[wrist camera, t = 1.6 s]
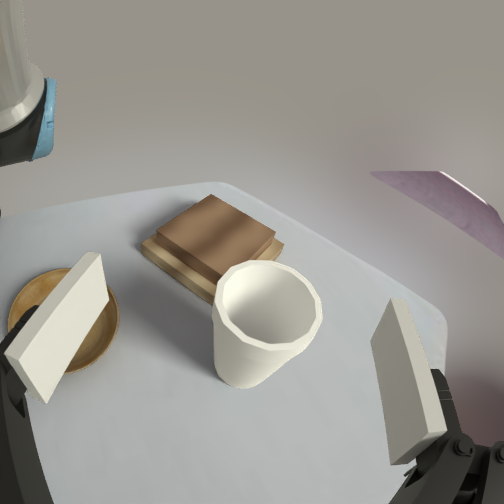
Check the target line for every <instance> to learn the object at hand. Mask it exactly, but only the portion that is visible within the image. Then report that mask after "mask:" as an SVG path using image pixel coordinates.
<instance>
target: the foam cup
mask: <svg viewBox="0 0 504 504" xmlns="http://www.w3.org/2000/svg"><path fill="white" fill-rule="evenodd" d="M211 318H212V320H213V323H214V366H215V368H216V371H217V374H218V376H219V377H220V378H221V379H222V380H223V381H224V382H225V383H226V384H228V385H230V386H233V387H236V388H239V389H241V388H252V387H254V386H255V385H257V384H259V383H260V382H262V381H263V380H265V379H266V378H267V377H268V376H270V375H271V374H272V373H274V372H275V371H276V370H277V369H278V368H280V367H281V366H282V365H283V364H285V363H286V362H287V361H288V360H290V359H291V358H292V357H294V356H296V355H297V354H299V353H300V352H302V351H304V350H305V348H306V347H307V346H308V344H309V343H310V342H311V341H312V339H313V338H314V336H315V334H316V332H317V330H318V328H319V326H320V324H321V322H322V320H323V318H322V307H321V300H320V298H319V296H318V295H317V293H316V291H315V289H314V288H313V286H312V285H311V283H310V282H309V281H308V280H307V279H306V278H304V277H303V276H302V275H301V274H299V273H298V272H297V271H295V270H294V269H293V268H290V267H288V266H285V265H282V264H280V263H277V262H274V261H269V260H249V261H246V262H243V263H240V264H238V265H235V266H232V267H230V269H229V270H228V271H227V272H226V273H225V274H224V275H223V276H222V278H221V279H220V280H219V281H218V283H217V288H216V292H215V297H214V303H213V309H212V315H211Z"/></svg>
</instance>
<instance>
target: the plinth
mask: <svg viewBox="0 0 504 504" xmlns="http://www.w3.org/2000/svg"><path fill="white" fill-rule="evenodd" d="M275 233H276V232H275V231H273V230H272V229H270V228H268V227H267V226H265V225H263V224H262V223H260V222H258V221H256V220H255V219H253V218H251V217H250V216H248V215H246V214H245V213H243V212H241V211H239V210H238V209H236V208H234V207H233V206H231V205H229V204H227V203H226V202H224V201H222V200H221V199H219V198H217V197H215V196H214V195H212V194H210V195H209V196H207V197H206V198H204V199H203V200H201V201H200V202H198V203H197V204H195V205H193V206H192V207H190V208H189V209H187V210H186V211H184V212H183V213H181V214H180V215H178V216H177V217H175V218H174V219H172V220H171V221H169V222H168V223H166V224H165V225H164V226H162V227H161V228H159V229H158V230H157V233H156V234H154V235H153V236H151V237H150V238H148V239H147V240H146V241H144V242H143V243H141V248H142V254H143V255H144V256H146V257H147V258H148V259H150V260H151V261H152V262H154V263H155V264H156V265H158V266H159V267H160V268H162V269H163V270H164V271H166V272H167V273H168V274H170V275H171V276H172V277H174V278H175V279H176V280H178V281H179V282H181V283H182V284H183V285H185V286H186V287H187V288H189V289H190V290H192V291H193V292H194V293H196V294H197V295H198V296H200V297H201V298H203V299H204V300H205V301H207V302H208V303H210V304H211V305H213V303H214V297H215V292H216V288H217V283H218V281H219V280H220V279H221V278H222V276H223V275H224V274H225V273H226V272H227V271H228V270H229V269H230V267H232V266H235V265H238V264H240V263H243V262H246V261H249V260H269V261H274V260H275V259H276V258H277V257H278V256H279V254H280V253H281V251H282V249H283V246H284V244H283V243H281V242H280V241H278V240H277V239H275V238H274V236H275Z"/></svg>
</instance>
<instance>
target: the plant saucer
mask: <svg viewBox="0 0 504 504" xmlns="http://www.w3.org/2000/svg"><path fill="white" fill-rule="evenodd" d="M71 269H72V268H65V269H56V270H52V271H49V272H46V273H43V274H41V275H39V276H38V277H36V278H34V279H33V280H31V281H30V282H29V283H28V284H27V285H26V286H25V287H24V288H23V289H22V290H21V291H20V292H19V293H18V295H17V296H16V298H15V300H14V301H13V304H12V306H11V309H10V312H9V316H8V333H9V332H10V330H11V329H12V328H14V325H15V324H16V323H17V321H19V319H20V318H21V316H22V315H23V314H24V313H25V311H27V310H28V309H30V308H31V307H32V306H34V305H38V306H40V305H41V304H42V303H43V302H44V300H45V299H46V298H47V297H48V295H49V294H50V293H51V292H52V291H53V290H54V288H55V287H56V286H57V285H58V284H59V282H60V281H61V280H62V279H63V278H64V277H65V276H66V274H67V273H68V272H69V271H70V270H71ZM106 287H107V292H108V296H109V301H108V302H107V304H106V306H105V307H104V309H103V310H102V312H101V313H100V315H99V316H98V318H97V319H96V321H95V322H94V324H93V326H92V327H91V329H90V330H89V332H88V334H87V335H86V337H85V338H84V340H83V342H82V343H81V345H80V347H79V348H78V350H77V351H76V353H75V355H74V356H73V358H72V360H71V361H70V363H69V365H68V367H67V368H66V370H65V372H64V373H63V374H70V373H74V372H77V371H80V370H82V369H85V368H86V367H88V366H90V365H92V364H93V363H95V362H96V361H97V360H98V359H99V358H101V357H102V356H103V355H104V353H105V352H106V351H107V350H108V348H109V347H110V345H111V344H112V342H113V340H114V338H115V335H116V333H117V329H118V325H119V308H118V303H117V300H116V298H115V296H114V294H113V292H112V290H111V289H110V287H109V286H108V285H107V284H106Z"/></svg>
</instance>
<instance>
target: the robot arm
mask: <svg viewBox="0 0 504 504" xmlns="http://www.w3.org/2000/svg"><path fill="white" fill-rule="evenodd" d="M56 84H57V83H56V80H55V79H49V78H44V77H43V74H42V72H41V70H40V69H39V68H38V67H37V66H36V65H34V64H33V63H30V62H29V57H28V51H27V43H26V35H25V25H24V14H23V0H0V167H2V166H6V165H11V164H15V163H19V162H24V161H29V162H30V161H33V160H34V159H38V158H42V157H45V156H47V155H49V154H50V152H51V151H52V149H53V136H54V134H53V132H54V110H55V96H56ZM0 216H1V210H0ZM108 301H109V296H108V292H107V287H106V282H105V277H104V272H103V266H102V261H101V255H100V254H97V253H92V252H86V253H85V254H84V255H83V257H82V258H81V259H80V260H79V261H78V262H77V263H76V264H75V265H74V266H73V268H72V269H71V270H70V271H69V272H68V273H67V274H66V276H65V277H64V278H63V279H62V280H61V281H60V282H59V284H58V285H57V286H56V287H55V288H54V290H53V291H52V292H51V293H50V294H49V295H48V297H47V298H46V299H45V300H44V302H43V303H42V304H41V305H40V306H38V305H34V306H32V307H31V308H30V309H28V310H27V311H25V313H24V314H23V315H22V316H21V318H20V319H19V321H17V323H16V324H15V325H14V328H12V329H11V330H10V332H9V333H8V334H7V336H6V337H5V338H4V340H3V341H2V342H1V344H0V504H54V503H53V500H52V497H51V495H50V492H49V489H48V486H47V483H46V480H45V476H44V473H43V470H42V466H41V463H40V459H39V456H38V452H37V448H36V444H35V440H34V436H33V431H32V427H31V422H30V417H29V412H28V407H27V401H26V398H25V395H24V393H25V392H26V390H28V392H29V393H30V394H31V396H32V397H33V398H35V399H37V400H39V401H41V402H43V403H46V404H47V402H48V400H49V398H50V397H51V395H52V393H53V391H54V389H55V388H56V386H57V384H58V382H59V380H60V379H61V377H62V375H63V373H64V372H65V370H66V368H67V367H68V365H69V363H70V361H71V360H72V358H73V356H74V355H75V353H76V351H77V350H78V348H79V347H80V345H81V343H82V342H83V340H84V338H85V337H86V335H87V334H88V332H89V330H90V329H91V327H92V326H93V324H94V322H95V321H96V319H97V318H98V316H99V315H100V313H101V312H102V310H103V309H104V307H105V306H106V304H107V302H108ZM370 342H371V347H372V352H373V357H374V362H375V367H376V372H377V377H378V383H379V389H380V394H381V400H382V406H383V413H384V419H385V426H386V433H387V441H388V449H389V457H390V465H401V464H408V463H409V462H411V461H412V460H413V459H415V458H416V463H417V465H415V466H414V467H413V468H411V469H410V470H409V471H407V472H406V473H405V474H404V476H405V477H406V476H407V475H408V474H409V475H408V477H407V478H406V480H405V481H404V483H403V484H402V486H401V487H400V489H399V490H398V491H397V493H396V494H395V496H394V497H393V498H392V500H391V501H390V503H389V504H504V441H498V442H496V443H495V444H493V445H492V446H491V447H485V446H481V445H476V444H474V442H473V441H472V439H471V438H470V437H469V436H468V435H466V434H464V433H462V431H461V428H460V424H459V421H458V417H457V413H456V410H455V407H454V403H453V401H452V396H451V393H450V392H449V387H448V384H447V381H446V378H445V377H444V376H443V374H442V373H441V372H440V370H439V369H430V367H429V364H428V361H427V358H426V355H425V352H424V349H423V346H422V343H421V341H420V338H419V335H418V332H417V329H416V327H415V324H414V321H413V318H412V316H411V313H410V311H409V308H408V305H407V303H406V300H402V299H393V298H390V301H389V303H388V305H387V307H386V309H385V312H384V314H383V316H382V318H381V320H380V322H379V324H378V326H377V328H376V331H375V333H374V335H373V337H372V339H371V341H370Z"/></svg>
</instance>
